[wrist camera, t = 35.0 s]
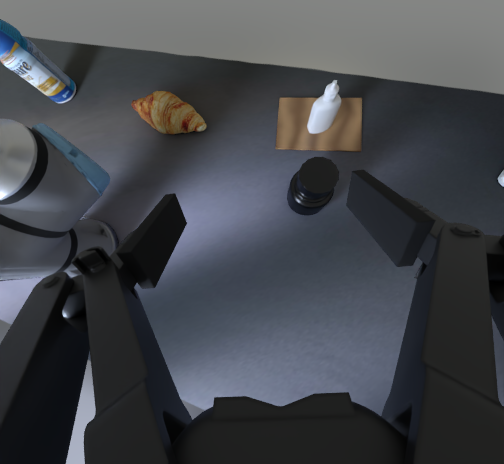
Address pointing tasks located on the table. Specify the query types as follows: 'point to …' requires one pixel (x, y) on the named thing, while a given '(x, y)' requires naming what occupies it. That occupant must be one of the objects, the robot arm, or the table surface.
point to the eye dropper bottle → (324, 109)
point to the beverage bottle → (33, 65)
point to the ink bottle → (312, 186)
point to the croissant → (168, 113)
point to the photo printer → (501, 178)
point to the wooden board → (333, 139)
